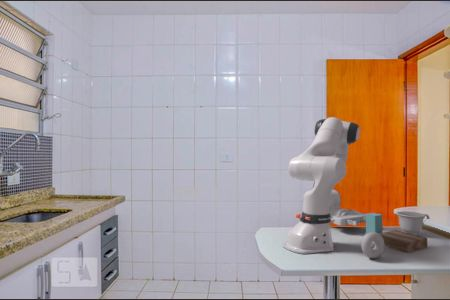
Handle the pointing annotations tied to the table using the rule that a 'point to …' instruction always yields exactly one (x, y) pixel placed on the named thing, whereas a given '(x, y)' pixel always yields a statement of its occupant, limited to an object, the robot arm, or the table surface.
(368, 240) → the donut
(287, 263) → the table surface
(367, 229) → the teal block
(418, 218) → the teacup
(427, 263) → the table surface
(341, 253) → the table surface
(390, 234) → the oak base
